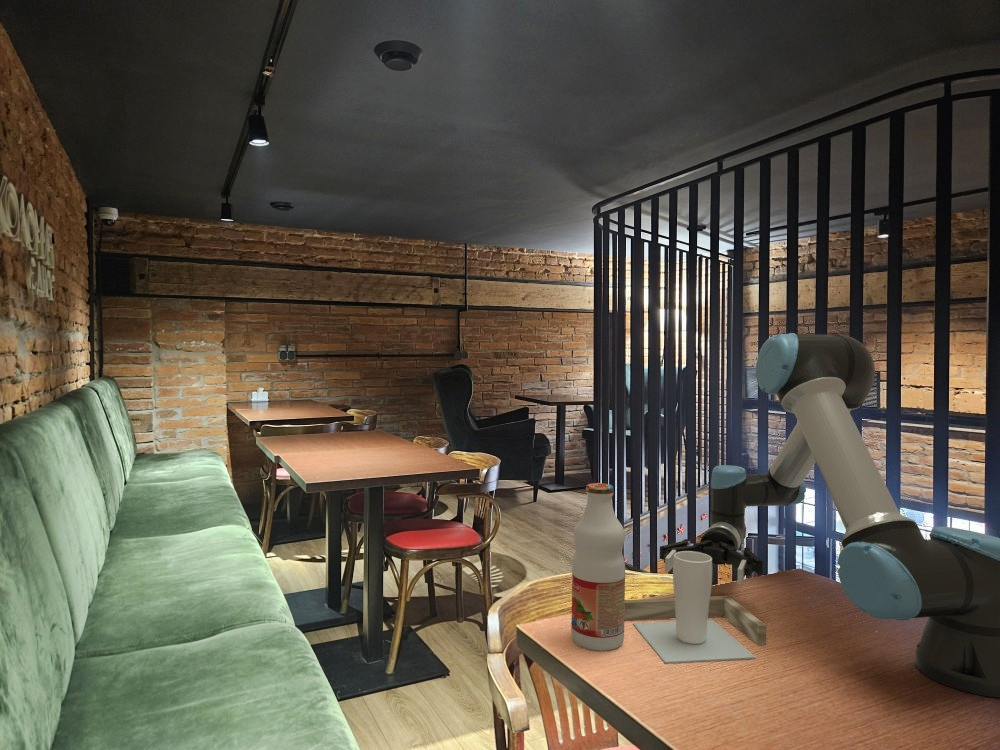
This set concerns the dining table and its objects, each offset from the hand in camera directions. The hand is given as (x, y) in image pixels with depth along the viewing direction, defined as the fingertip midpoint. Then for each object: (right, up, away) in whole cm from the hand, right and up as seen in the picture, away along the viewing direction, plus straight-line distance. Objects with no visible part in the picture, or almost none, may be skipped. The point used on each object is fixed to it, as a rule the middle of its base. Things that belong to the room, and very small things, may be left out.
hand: (702, 570), depth 126 cm
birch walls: (-4, -10, -4) cm, 12 cm away
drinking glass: (-5, -10, -8) cm, 14 cm away
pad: (-5, -10, -8) cm, 14 cm away
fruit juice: (-21, -10, -8) cm, 25 cm away
